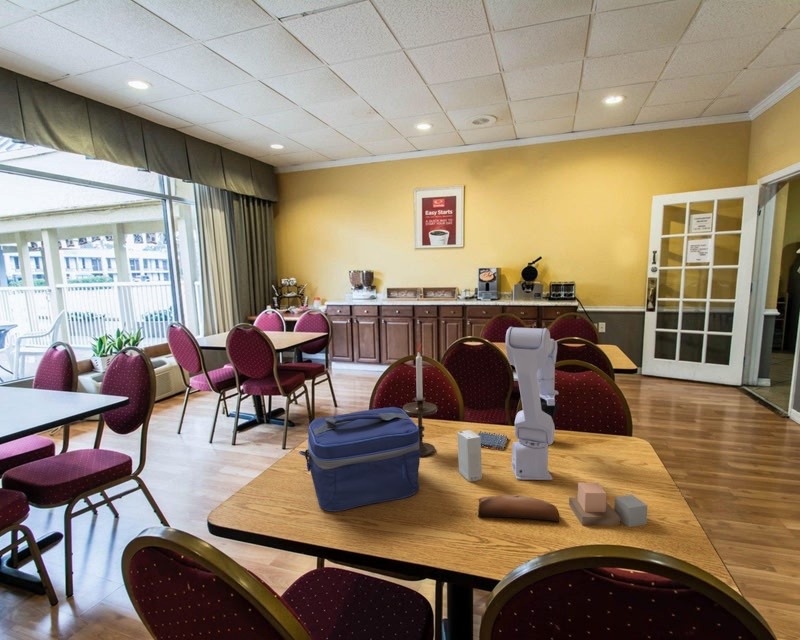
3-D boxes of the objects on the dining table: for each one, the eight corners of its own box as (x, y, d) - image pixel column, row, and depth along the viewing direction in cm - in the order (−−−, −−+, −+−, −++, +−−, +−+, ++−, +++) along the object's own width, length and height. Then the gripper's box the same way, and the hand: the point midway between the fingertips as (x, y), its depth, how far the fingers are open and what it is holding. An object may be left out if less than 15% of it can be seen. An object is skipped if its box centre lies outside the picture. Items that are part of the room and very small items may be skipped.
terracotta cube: (584, 511, 91) (585, 492, 91) (577, 500, 96) (578, 482, 95) (605, 512, 91) (606, 493, 91) (597, 500, 96) (598, 482, 95)
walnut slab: (582, 527, 90) (582, 516, 89) (568, 507, 98) (569, 497, 97) (619, 527, 89) (619, 517, 89) (602, 507, 97) (603, 497, 97)
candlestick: (442, 447, 132) (441, 340, 128) (429, 461, 123) (427, 346, 119) (412, 441, 137) (410, 339, 133) (397, 454, 128) (395, 344, 124)
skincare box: (482, 479, 111) (482, 436, 109) (468, 482, 109) (467, 439, 108) (471, 469, 117) (471, 428, 115) (457, 472, 115) (456, 431, 114)
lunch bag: (306, 521, 94) (302, 435, 92) (297, 479, 114) (293, 408, 111) (429, 494, 104) (428, 416, 102) (401, 460, 124) (399, 394, 122)
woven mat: (471, 448, 132) (471, 442, 132) (478, 436, 142) (478, 430, 142) (503, 453, 128) (503, 446, 128) (508, 440, 138) (509, 434, 138)
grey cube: (628, 527, 89) (629, 507, 88) (614, 515, 93) (614, 497, 93) (646, 524, 90) (647, 505, 89) (631, 513, 94) (632, 494, 94)
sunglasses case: (551, 502, 99) (555, 487, 95) (557, 531, 93) (561, 516, 89) (476, 498, 102) (476, 483, 98) (477, 526, 96) (477, 511, 92)
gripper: (565, 384, 116) (565, 429, 118) (551, 371, 130) (550, 412, 132) (540, 384, 117) (540, 429, 118) (528, 371, 131) (528, 412, 133)
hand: (544, 420), depth 125 cm, fingers open, 7 cm apart
